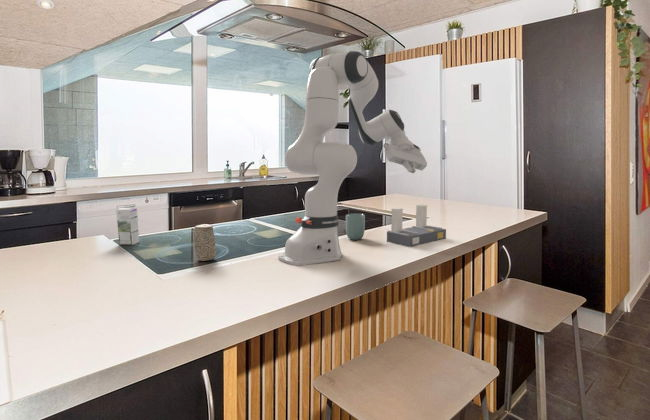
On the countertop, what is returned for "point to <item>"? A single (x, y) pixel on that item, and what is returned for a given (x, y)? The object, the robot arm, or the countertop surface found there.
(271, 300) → the countertop surface
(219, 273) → the countertop surface
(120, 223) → the syrup box
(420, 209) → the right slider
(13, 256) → the countertop surface
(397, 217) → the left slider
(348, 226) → the cup
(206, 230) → the carving
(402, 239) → the switch console
